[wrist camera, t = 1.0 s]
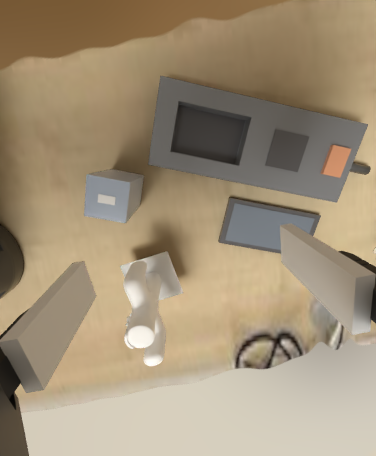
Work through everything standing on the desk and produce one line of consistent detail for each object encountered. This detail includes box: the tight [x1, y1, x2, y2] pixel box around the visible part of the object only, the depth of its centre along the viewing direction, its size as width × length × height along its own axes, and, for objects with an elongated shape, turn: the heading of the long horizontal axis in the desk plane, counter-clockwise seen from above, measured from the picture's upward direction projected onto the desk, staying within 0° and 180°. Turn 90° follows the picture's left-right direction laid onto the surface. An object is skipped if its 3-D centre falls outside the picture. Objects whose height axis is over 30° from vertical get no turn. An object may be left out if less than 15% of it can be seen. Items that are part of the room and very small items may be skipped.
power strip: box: [148, 76, 371, 202], centre depth 30 cm, size 30×10×4 cm, turn 79°
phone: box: [218, 197, 321, 253], centre depth 35 cm, size 14×7×1 cm, turn 79°
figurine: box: [120, 251, 183, 366], centre depth 30 cm, size 7×9×15 cm
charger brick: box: [84, 169, 144, 223], centre depth 28 cm, size 4×4×9 cm
